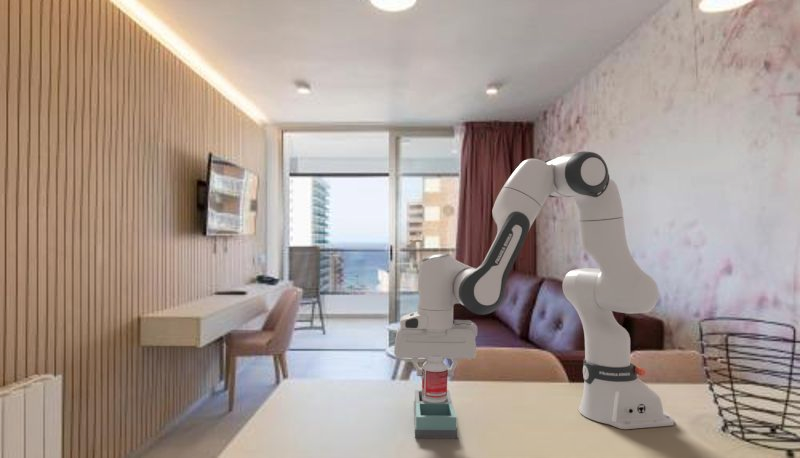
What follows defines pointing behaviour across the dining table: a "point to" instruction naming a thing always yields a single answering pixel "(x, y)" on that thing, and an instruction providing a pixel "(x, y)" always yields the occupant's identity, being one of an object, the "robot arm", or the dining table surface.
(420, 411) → the teal tray with block
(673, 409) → the dining table surface
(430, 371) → the pill bottle
